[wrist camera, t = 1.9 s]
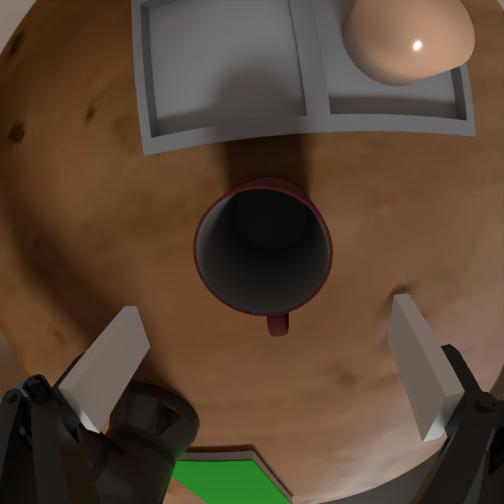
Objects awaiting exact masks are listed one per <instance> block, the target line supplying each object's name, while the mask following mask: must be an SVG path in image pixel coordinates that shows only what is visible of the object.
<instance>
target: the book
mask: <svg viewBox="0 0 504 504" xmlns="http://www.w3.org/2000/svg"><path fill="white" fill-rule="evenodd" d="M172 476H173V477H174V478H175V479H176V480H178V481H179V482H180V483H181V484H183V485H184V486H185V487H187V488H188V489H189V490H190V491H192V492H193V493H194V494H196V495H197V496H198V497H200V498H201V499H202V500H204V501H205V502H207V503H208V504H292V497H291V496H290V495H289V493H288V492H287V491H286V490H285V489H284V488H283V486H282V485H281V484H280V483H279V482H278V481H277V479H276V478H275V477H274V476H273V475H272V473H271V472H270V471H269V470H268V469H267V467H266V466H265V465H264V464H263V462H262V461H261V460H260V459H259V457H258V456H257V455H256V453H255V452H254V451H239V452H214V453H187V452H184V453H183V454H182V455H181V457H180V458H179V459H178V460H177V462H176V465H175V467H174V470H173V474H172Z"/></svg>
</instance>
